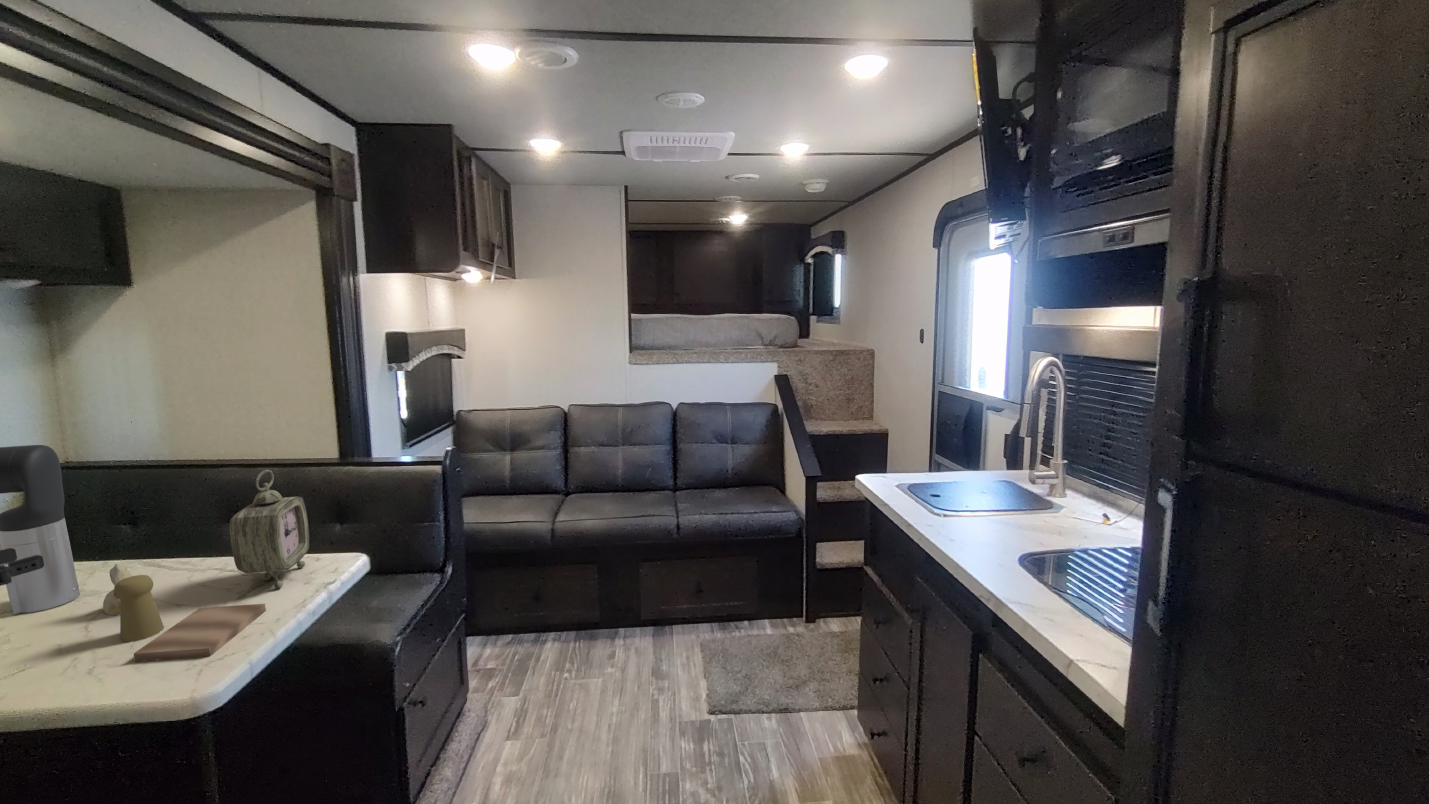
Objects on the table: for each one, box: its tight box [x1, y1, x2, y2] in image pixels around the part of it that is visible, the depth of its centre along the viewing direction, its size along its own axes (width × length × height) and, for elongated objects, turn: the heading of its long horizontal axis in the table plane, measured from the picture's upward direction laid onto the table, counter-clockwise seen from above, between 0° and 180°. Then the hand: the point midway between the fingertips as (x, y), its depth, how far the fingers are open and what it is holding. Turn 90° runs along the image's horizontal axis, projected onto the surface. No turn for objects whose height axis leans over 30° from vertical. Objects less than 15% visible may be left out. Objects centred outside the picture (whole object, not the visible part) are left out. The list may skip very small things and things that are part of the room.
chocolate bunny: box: [102, 562, 135, 616], centre depth 123 cm, size 6×8×10 cm
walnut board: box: [133, 603, 267, 662], centre depth 114 cm, size 16×12×2 cm
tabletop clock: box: [229, 469, 310, 590], centre depth 134 cm, size 14×9×25 cm, turn 12°
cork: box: [113, 574, 165, 643], centre depth 114 cm, size 6×6×11 cm
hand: (28, 557), depth 100 cm, fingers open, 8 cm apart
